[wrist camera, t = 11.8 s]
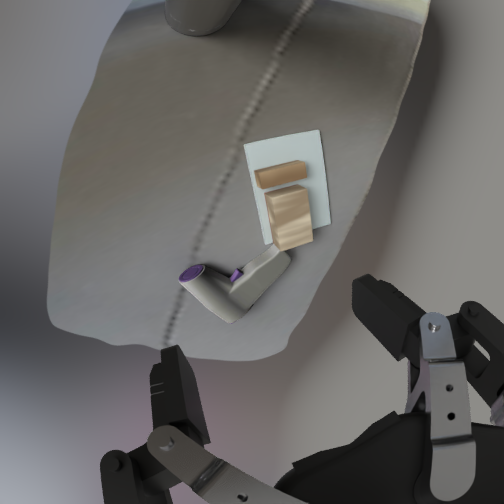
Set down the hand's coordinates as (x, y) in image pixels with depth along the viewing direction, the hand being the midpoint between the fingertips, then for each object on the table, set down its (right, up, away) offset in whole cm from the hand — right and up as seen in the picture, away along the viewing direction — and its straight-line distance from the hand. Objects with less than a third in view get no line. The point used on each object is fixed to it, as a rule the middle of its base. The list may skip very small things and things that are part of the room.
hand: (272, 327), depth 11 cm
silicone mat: (+5, +13, +30) cm, 33 cm away
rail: (+3, +15, +29) cm, 32 cm away
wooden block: (+4, +12, +28) cm, 31 cm away
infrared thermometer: (-4, +1, +34) cm, 34 cm away
